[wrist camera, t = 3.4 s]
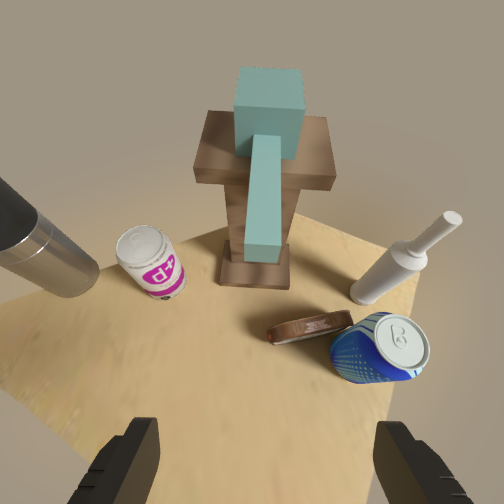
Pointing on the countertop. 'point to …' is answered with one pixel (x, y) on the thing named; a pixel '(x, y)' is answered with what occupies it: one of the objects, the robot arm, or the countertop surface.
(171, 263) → the supplement can
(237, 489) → the countertop surface
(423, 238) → the bottle
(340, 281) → the countertop surface
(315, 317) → the tin
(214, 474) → the countertop surface
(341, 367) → the beer can
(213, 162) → the stand
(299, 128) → the mallet
